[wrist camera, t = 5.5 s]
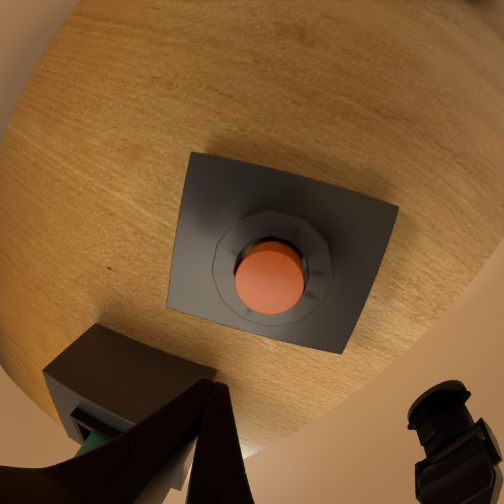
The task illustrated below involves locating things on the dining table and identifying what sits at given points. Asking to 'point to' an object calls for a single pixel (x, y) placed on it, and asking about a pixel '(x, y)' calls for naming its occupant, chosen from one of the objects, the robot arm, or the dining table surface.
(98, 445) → the bottle
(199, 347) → the dining table surface
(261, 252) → the button
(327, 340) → the control
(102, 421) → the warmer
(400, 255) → the dining table surface
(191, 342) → the dining table surface
